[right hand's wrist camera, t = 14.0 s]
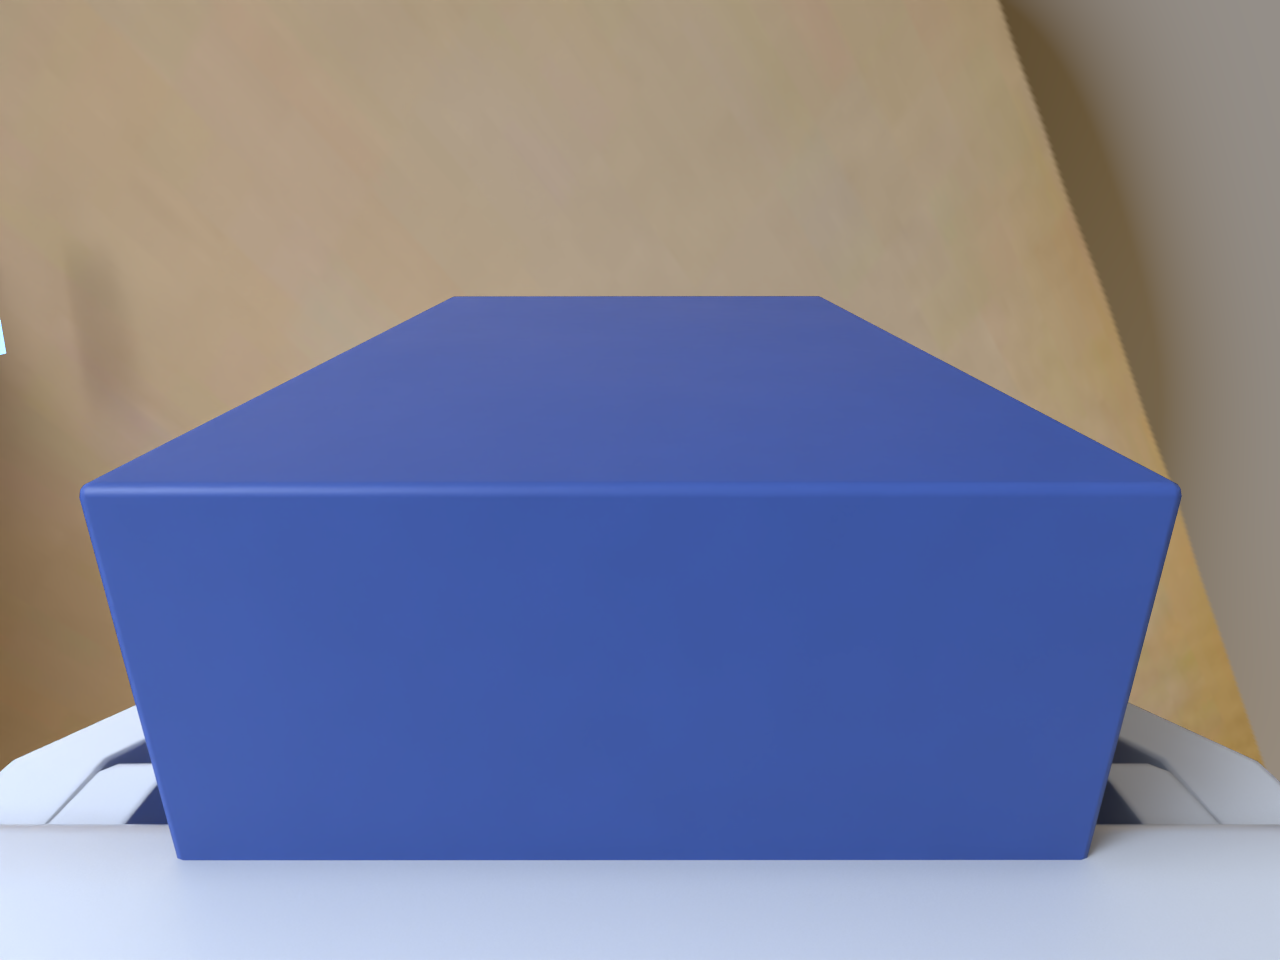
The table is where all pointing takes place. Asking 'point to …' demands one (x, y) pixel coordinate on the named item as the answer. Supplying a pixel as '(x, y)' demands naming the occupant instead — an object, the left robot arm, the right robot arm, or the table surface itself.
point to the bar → (631, 596)
